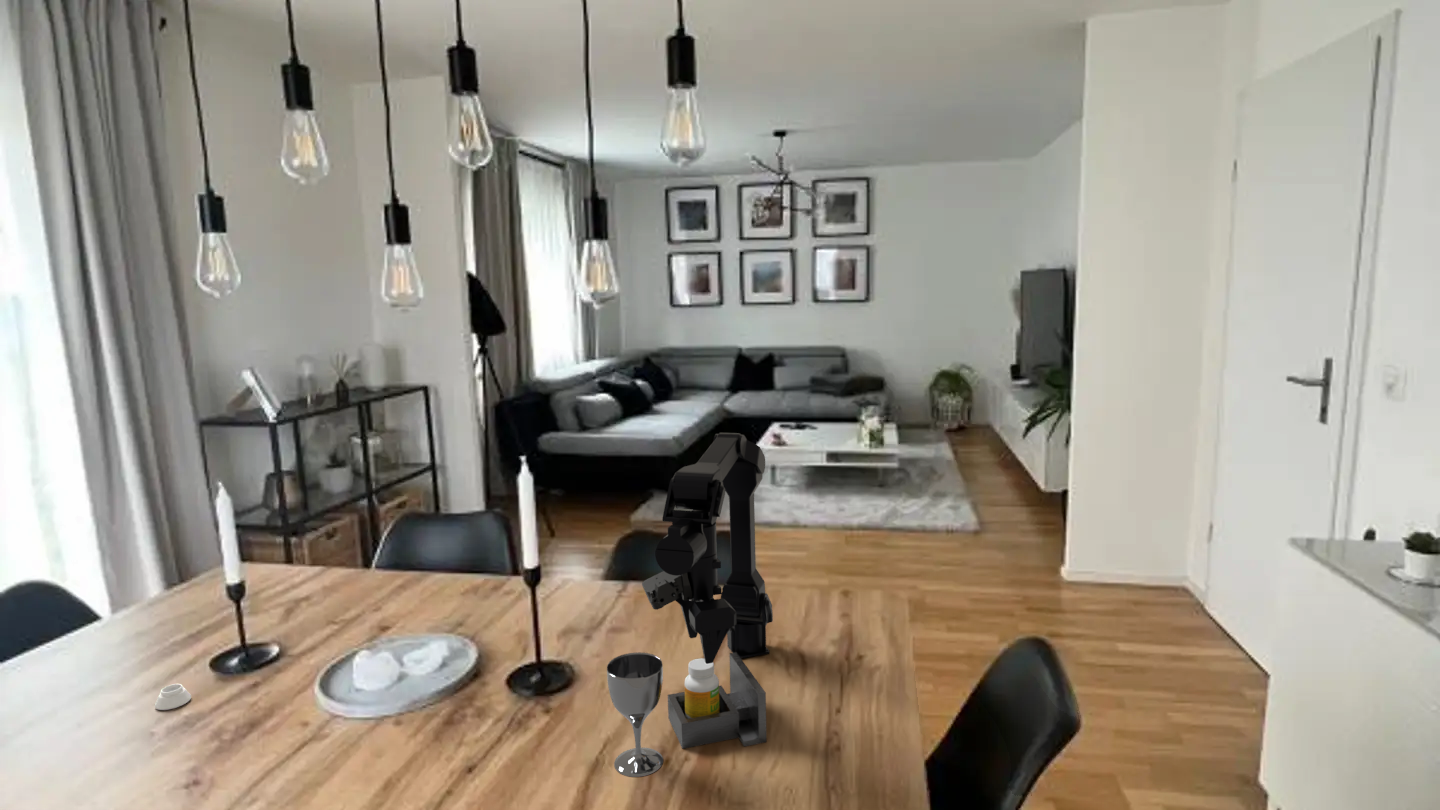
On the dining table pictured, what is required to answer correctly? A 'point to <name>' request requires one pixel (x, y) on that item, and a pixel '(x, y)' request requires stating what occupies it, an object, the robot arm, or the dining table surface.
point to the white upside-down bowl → (172, 697)
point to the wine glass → (636, 706)
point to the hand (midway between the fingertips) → (700, 649)
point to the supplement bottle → (701, 690)
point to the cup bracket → (724, 712)
